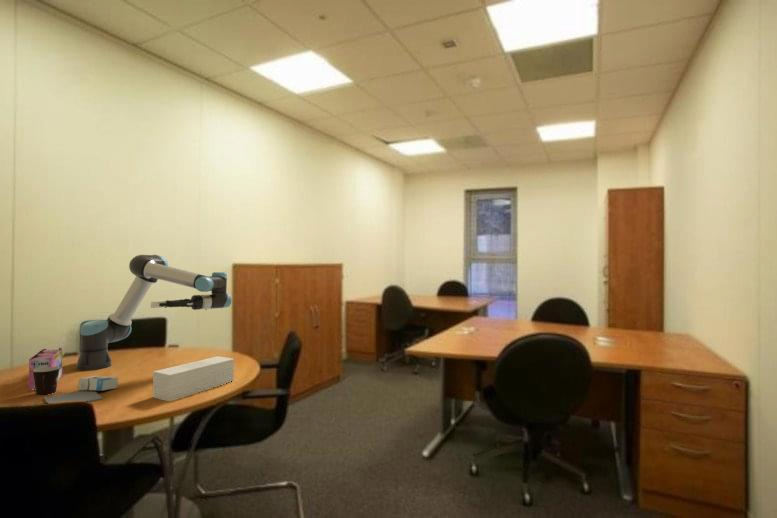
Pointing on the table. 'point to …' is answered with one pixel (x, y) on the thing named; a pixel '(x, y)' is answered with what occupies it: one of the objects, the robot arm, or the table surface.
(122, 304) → the robot arm
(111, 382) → the ink box
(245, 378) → the table surface
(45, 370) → the coffee mug
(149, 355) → the table surface
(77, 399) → the felt pad
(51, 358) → the gum box
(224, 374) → the long white block
